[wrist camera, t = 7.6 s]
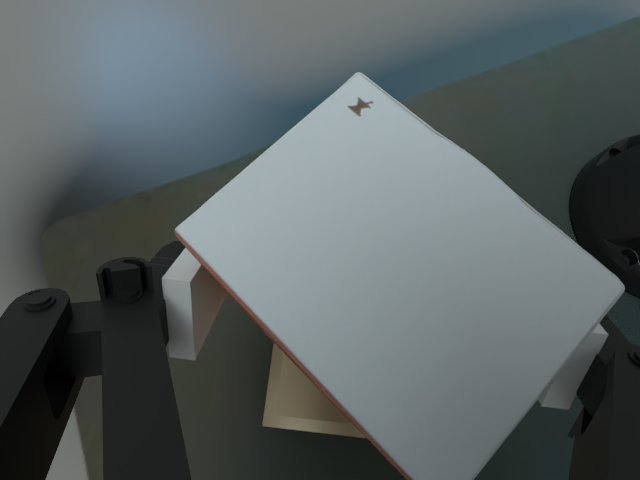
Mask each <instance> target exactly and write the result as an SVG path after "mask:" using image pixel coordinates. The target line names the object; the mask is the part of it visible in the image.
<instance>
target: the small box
mask: <svg viewBox="0 0 640 480" xmlns="http://www.w3.org/2000/svg"><path fill="white" fill-rule="evenodd" d="M175 235H176V236H177V238H178V239H179V240H180V241H181V243H182V244H183V245H184V246H185V247H186V248H187V250H188V251H189V252H190V253H191V254H192V255H193V256H194V257H195V258H196V259H197V260H198V261H199V263H200V264H201V265H202V266H203V267H204V268H205V269H206V270H207V271H208V272H209V273H210V275H211V276H212V277H213V278H214V279H215V280H216V281H217V282H218V283H219V285H220V286H221V287H222V288H223V289H224V290H225V291H226V292H227V293H228V294H229V295H230V297H231V298H232V299H233V300H234V301H235V302H236V303H237V304H238V305H239V306H240V307H241V308H242V309H243V310H244V312H245V313H246V314H247V315H248V316H249V317H250V318H251V319H252V320H253V321H254V322H255V323H256V324H257V325H258V326H259V327H260V329H261V330H262V331H263V332H264V333H265V334H266V335H267V336H268V337H269V338H270V339H271V340H272V341H273V342H274V343H275V344H276V345H277V346H278V347H279V348H280V349H281V351H282V352H283V353H284V354H285V355H286V356H287V357H288V358H289V359H290V360H291V361H292V362H293V363H294V364H295V365H296V366H297V367H298V368H299V369H300V370H301V371H302V372H303V373H304V374H305V375H306V377H307V378H308V379H309V380H310V381H311V382H312V383H313V384H314V385H315V386H316V387H317V388H318V389H319V390H320V391H321V392H322V393H323V394H324V395H325V396H326V397H327V398H328V399H329V400H330V401H331V403H332V404H333V405H334V406H335V407H336V408H337V409H338V410H339V411H340V412H341V413H342V414H343V415H344V416H345V417H346V418H347V419H348V420H349V421H350V422H351V423H352V424H353V425H354V426H355V427H356V428H357V429H358V430H359V431H360V432H361V433H362V434H363V435H364V436H365V437H366V438H367V439H368V440H369V441H370V442H371V443H372V444H373V445H374V446H375V447H376V448H377V449H378V451H379V452H380V453H381V454H382V455H383V456H384V457H385V458H386V459H387V460H388V461H389V462H390V463H391V464H392V465H393V466H394V467H395V468H396V469H397V470H398V471H399V472H400V473H401V474H402V475H403V476H404V477H405V478H406V479H407V480H474V479H475V478H476V476H477V475H478V474H479V472H480V471H481V470H482V469H483V467H484V466H485V465H486V464H487V462H488V461H489V460H490V459H491V457H492V456H493V455H494V454H495V452H496V451H497V450H498V449H499V447H500V446H501V445H502V444H503V442H504V441H505V440H506V439H507V437H508V436H509V435H510V434H511V433H512V431H513V430H514V429H515V428H516V426H517V425H518V424H519V423H520V421H521V420H522V419H523V418H524V416H525V415H526V414H527V413H528V411H529V410H530V409H531V408H532V406H533V405H534V404H535V403H536V401H537V400H538V399H539V397H540V396H541V395H542V394H543V392H544V391H545V390H546V389H547V387H548V386H549V385H550V384H551V382H552V381H553V380H554V379H555V377H556V376H557V375H558V374H559V372H560V371H561V370H562V369H563V367H564V366H565V365H566V364H567V362H568V361H569V360H570V359H571V357H572V356H573V355H574V354H575V352H576V351H577V350H578V349H579V347H580V346H581V345H582V344H583V342H584V341H585V340H586V339H587V337H588V336H589V335H590V334H591V332H592V331H593V330H594V329H595V327H596V326H597V325H598V324H599V322H600V321H601V320H602V319H603V317H604V316H605V315H606V314H607V313H608V311H609V310H610V309H611V308H612V306H613V305H614V304H615V303H616V301H617V300H618V299H619V298H620V297H621V295H622V294H623V293H624V291H625V286H624V285H623V283H622V282H621V281H620V280H619V278H618V277H617V276H616V275H615V274H613V273H612V272H611V271H609V270H608V269H607V268H606V267H605V266H603V265H602V264H601V263H600V262H599V261H598V260H597V259H595V258H594V257H593V256H592V255H590V254H589V253H588V252H587V251H585V250H584V249H583V248H582V247H580V246H579V245H578V244H577V243H575V242H574V241H573V240H572V239H571V238H570V237H568V236H567V235H566V234H565V233H564V232H562V231H561V230H560V229H559V228H558V227H556V226H555V225H554V224H552V223H551V222H550V221H549V220H547V219H546V218H545V217H544V216H542V215H541V214H540V213H539V212H537V211H536V210H535V209H534V208H533V207H531V206H530V205H529V204H528V203H527V202H525V201H524V200H523V199H522V198H521V197H519V196H518V195H517V194H516V193H515V192H514V191H513V190H512V189H510V188H509V187H508V186H507V185H506V184H505V183H504V182H503V181H502V180H500V179H499V178H498V177H497V176H496V175H495V174H494V173H493V172H492V171H491V170H489V169H488V168H487V167H486V166H484V165H483V164H482V163H481V162H479V161H478V160H477V159H476V158H474V157H473V156H472V155H470V154H469V153H468V152H466V151H465V150H463V149H462V148H460V147H459V146H457V145H456V144H455V143H453V142H452V141H451V140H449V139H447V138H446V137H444V136H442V135H441V134H440V133H438V132H437V131H436V130H434V129H433V128H431V127H430V126H429V125H428V124H427V123H425V122H424V121H423V120H421V119H420V118H419V117H417V116H416V115H415V114H413V113H412V112H411V111H410V110H408V109H407V108H406V107H405V106H404V105H402V104H401V103H400V102H398V101H397V100H396V99H394V98H393V97H391V96H390V95H389V94H387V93H386V92H385V91H384V90H382V89H381V88H380V87H379V86H377V85H376V84H375V83H374V82H372V81H371V80H370V79H369V78H368V77H366V76H365V75H364V74H362V73H360V72H359V73H355V74H354V75H353V76H352V77H351V78H350V79H349V80H348V81H347V82H346V83H345V84H343V85H342V86H341V87H340V88H339V89H338V90H337V91H336V92H334V93H333V94H332V95H331V96H330V97H329V98H328V99H326V100H325V101H324V102H323V103H322V104H320V105H319V106H318V107H317V108H315V109H314V110H313V111H312V112H311V113H310V114H308V115H307V116H306V117H305V118H304V119H303V120H301V121H300V122H299V123H298V124H297V125H295V126H294V127H293V128H292V129H291V130H290V131H288V132H287V133H286V134H285V135H284V136H282V137H281V138H280V139H279V140H278V141H277V142H275V143H274V144H273V145H272V146H271V147H270V148H268V149H267V150H266V151H265V152H264V153H263V154H262V155H260V156H259V157H258V158H257V159H256V160H255V161H253V162H252V163H251V164H250V165H249V166H248V167H247V168H245V169H244V170H243V171H242V172H241V173H240V174H238V175H237V176H236V177H235V178H234V179H232V180H231V181H230V182H229V183H228V184H227V185H225V186H224V187H223V188H222V189H221V190H220V191H218V192H217V193H216V194H215V195H214V196H213V197H211V198H210V199H209V200H208V201H207V202H206V203H205V204H203V205H202V206H201V207H200V208H199V209H198V210H197V211H196V212H194V213H193V214H192V215H191V216H190V217H188V218H187V219H186V220H185V221H183V222H182V223H181V224H180V225H179V226H178V227H176V228H175Z"/></svg>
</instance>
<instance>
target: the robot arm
mask: <svg viewBox="0 0 640 480" xmlns="http://www.w3.org/2000/svg"><path fill="white" fill-rule="evenodd" d="M570 213H571V220H572V224H573V228H574V231H575V234H576V237H577V239H578V241H579V243H580V245H581V247H582V248H583V249H584V250H585V251H587V252H588V253H589V254H590V255H592V256H593V257H594V258H595V259H597V260H598V261H599V262H600V263H601V264H602V265H603V266H605V267H606V268H607V269H608V270H609V271H611V272H612V273H613V274H615V275H616V276H617V277H618V278H619V280H620V281H621V282H622V283H623V285H624V286H625V291H627V292H629V293H631V294H633V295H635V296H638V297H640V134H639V135H635V136H632V137H629V138H626V139H623V140H621V141H619V142H617V143H615V144H613V145H611V146H610V147H608V148H607V149H605V150H604V151H603V152H601V153H600V154H599V155H597V156H596V157H595V158H593V159H592V160H591V161H590V162H588V163H587V164H586V165H585V166H584V168H583V169H582V170H581V171H580V173H579V174H578V176H577V178H576V180H575V183H574V185H573V188H572V192H571V199H570ZM96 277H97V282H98V287H99V293H100V298H101V300H100V301H93V302H80V303H70V298H69V295H68V294H67V293H66V292H65V291H63V290H60V289H54V288H46V289H38V290H34V291H30V292H28V293H25V294H24V295H22V296H20V297H18V298H16V299H15V300H14V301H13V302H12V303H11V304H10V305H9V306H8V308H7V309H6V311H5V312H4V313H3V315H2V316H1V318H0V480H45V479H46V477H47V474H48V471H49V469H50V466H51V463H52V461H53V458H54V455H55V453H56V451H57V448H58V445H59V442H60V440H61V437H62V435H63V432H64V430H65V427H66V425H67V422H68V419H69V417H70V414H71V412H72V409H73V406H74V404H75V401H76V399H77V396H78V393H79V391H80V388H81V386H82V383H83V380H84V378H85V377H89V376H98V375H102V407H103V474H104V480H191V476H190V470H189V465H188V460H187V455H186V450H185V445H184V440H183V435H182V430H181V425H180V420H179V414H178V409H177V404H176V399H175V394H174V389H173V384H172V379H171V374H170V369H169V363H168V358H167V353H166V348H165V347H166V345H167V343H168V348H169V357H173V358H181V359H188V360H195V359H196V357H197V355H198V353H199V351H200V349H201V347H202V345H203V343H204V341H205V339H206V337H207V335H208V333H209V331H210V329H211V327H212V325H213V323H214V321H215V318H216V316H217V314H218V312H219V310H220V308H221V306H222V304H223V302H224V300H225V298H226V296H227V294H228V293H227V292H226V291H225V290H224V289H223V288H222V287H221V286H220V285H219V283H218V282H217V281H216V280H215V279H214V278H213V277H212V276H211V275H210V273H209V272H208V271H207V270H206V269H205V268H204V267H203V266H202V265H201V264H200V263H199V261H198V260H197V259H196V258H195V257H194V256H193V255H192V254H191V253H190V252H189V251H188V250H187V248H186V247H185V246H184V245H183V244H182V243H181V242H179V241H173V242H172V243H170V244H168V245H166V246H164V247H162V248H161V249H160V251H159V252H158V253H157V254H156V255H155V257H153V258H152V260H151V261H150V262H148V261H146V260H144V259H142V258H136V257H123V258H119V259H114V260H111V261H109V262H107V263H104V264H103V265H102V266H101V267H99V268H98V270H97V273H96ZM576 395H578V397H579V398H580V400H581V402H582V403H583V405H584V407H583V409H582V411H581V413H580V415H579V416H578V418H577V420H576V422H575V423H574V425H573V427H572V429H571V431H570V432H569V434H568V436H569V437H571V438H572V437H573V436H574V434H575V433H576V434H575V440H574V447H573V454H572V460H571V467H570V474H569V480H640V346H636V345H631V344H630V342H629V341H628V340H627V339H626V338H625V336H624V335H623V334H622V333H621V332H620V331H619V329H618V328H617V327H616V326H615V325H614V323H613V322H612V321H610V320H609V318H608V316H607V315H605V316H604V317H603V319H602V320H601V321H600V322H599V324H598V325H597V326H596V327H595V329H594V330H593V331H592V332H591V334H590V335H589V336H588V337H587V339H586V340H585V341H584V342H583V344H582V345H581V346H580V347H579V349H578V350H577V351H576V352H575V354H574V355H573V356H572V357H571V359H570V360H569V361H568V362H567V364H566V365H565V366H564V367H563V369H562V370H561V371H560V372H559V374H558V375H557V376H556V377H555V379H554V380H553V381H552V382H551V384H550V385H549V386H548V387H547V389H546V390H545V391H544V392H543V394H542V395H541V396H540V397H539V399H538V400H539V402H540V404H541V406H544V407H552V408H559V409H567V410H569V408H570V406H571V404H572V402H573V400H574V399H575V397H576Z"/></svg>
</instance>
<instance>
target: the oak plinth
mask: <svg viewBox="0 0 640 480" xmlns="http://www.w3.org/2000/svg"><path fill="white" fill-rule="evenodd" d="M262 426H266V427H274V428H283V429H291V430H300V431H309V432H317V433H326V434H334V435H343V436H351V437H360V438H366V437H365V436H364V435H363V434H362V433H361V432H360V431H359V430H358V429H357V428H356V427H355V426H354V425H353V424H352V423H351V422H350V421H349V420H348V419H347V418H346V417H345V416H344V415H343V414H342V413H341V412H340V411H339V410H338V409H337V408H336V407H335V406H334V405H333V404H332V403H331V401H330V400H329V399H328V398H327V397H326V396H325V395H324V394H323V393H322V392H321V391H320V390H319V389H318V388H317V387H316V386H315V385H314V384H313V383H312V382H311V381H310V380H309V379H308V378H307V377H306V375H305V374H304V373H303V372H302V371H301V370H300V369H299V368H298V367H297V366H296V365H295V364H294V363H293V362H292V361H291V360H290V359H289V358H288V357H287V356H286V355H285V354H284V353H283V352H282V351H281V349H280V348H279V347H278V346H277V345H276V344H275V343H274V345H273V352H272V360H271V367H270V374H269V381H268V388H267V396H266V403H265V410H264V417H263V424H262Z"/></svg>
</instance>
